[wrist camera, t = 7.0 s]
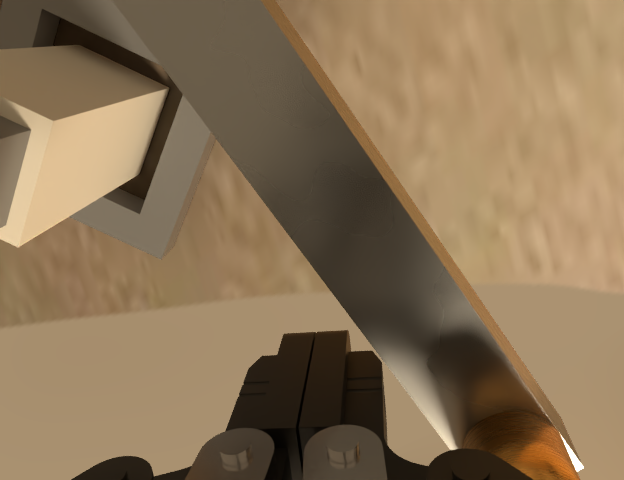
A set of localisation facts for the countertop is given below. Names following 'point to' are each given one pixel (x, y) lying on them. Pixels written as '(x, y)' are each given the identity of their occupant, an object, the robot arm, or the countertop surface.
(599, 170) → the countertop surface
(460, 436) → the long flat grey beam
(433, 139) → the countertop surface
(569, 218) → the countertop surface
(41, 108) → the plug
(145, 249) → the dock
